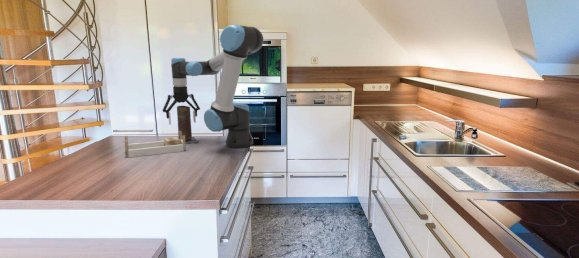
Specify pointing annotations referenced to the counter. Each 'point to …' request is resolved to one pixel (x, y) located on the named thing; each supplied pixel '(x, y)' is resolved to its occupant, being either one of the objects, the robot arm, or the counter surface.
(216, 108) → the robot arm
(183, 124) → the rusty brown cylinder
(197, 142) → the mat
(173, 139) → the offcut upper
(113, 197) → the counter surface
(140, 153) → the rack
